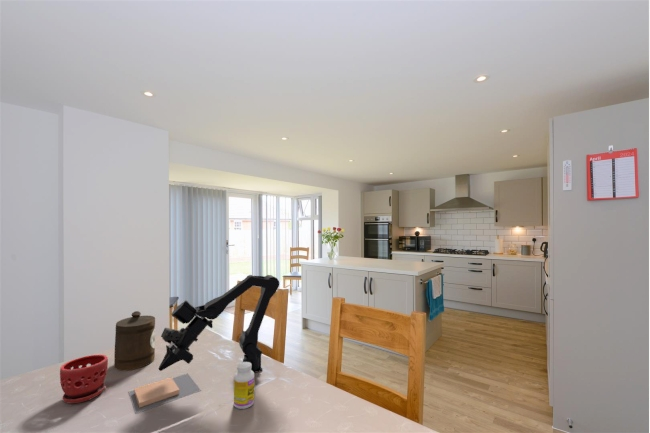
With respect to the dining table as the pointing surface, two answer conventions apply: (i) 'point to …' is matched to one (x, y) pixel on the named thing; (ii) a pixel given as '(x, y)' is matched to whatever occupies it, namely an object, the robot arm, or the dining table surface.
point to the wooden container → (134, 342)
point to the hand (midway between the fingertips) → (159, 369)
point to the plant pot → (83, 378)
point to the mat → (185, 389)
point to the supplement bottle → (244, 386)
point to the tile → (156, 391)
